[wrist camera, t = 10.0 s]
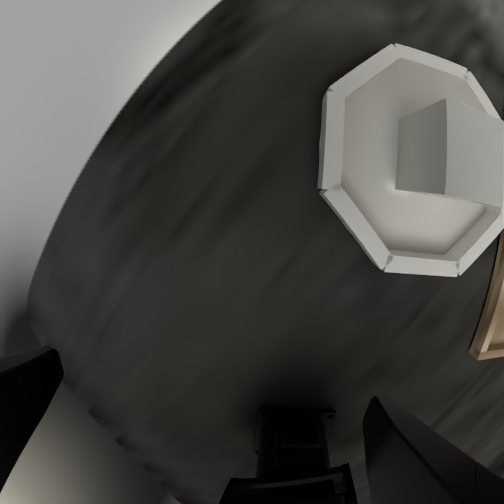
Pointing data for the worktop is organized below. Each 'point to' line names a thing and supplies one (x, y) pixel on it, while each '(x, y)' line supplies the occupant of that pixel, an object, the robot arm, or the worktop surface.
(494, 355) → the tray
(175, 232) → the worktop surface
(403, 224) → the bowl
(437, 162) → the grey rectangular block
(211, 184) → the worktop surface
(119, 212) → the worktop surface
